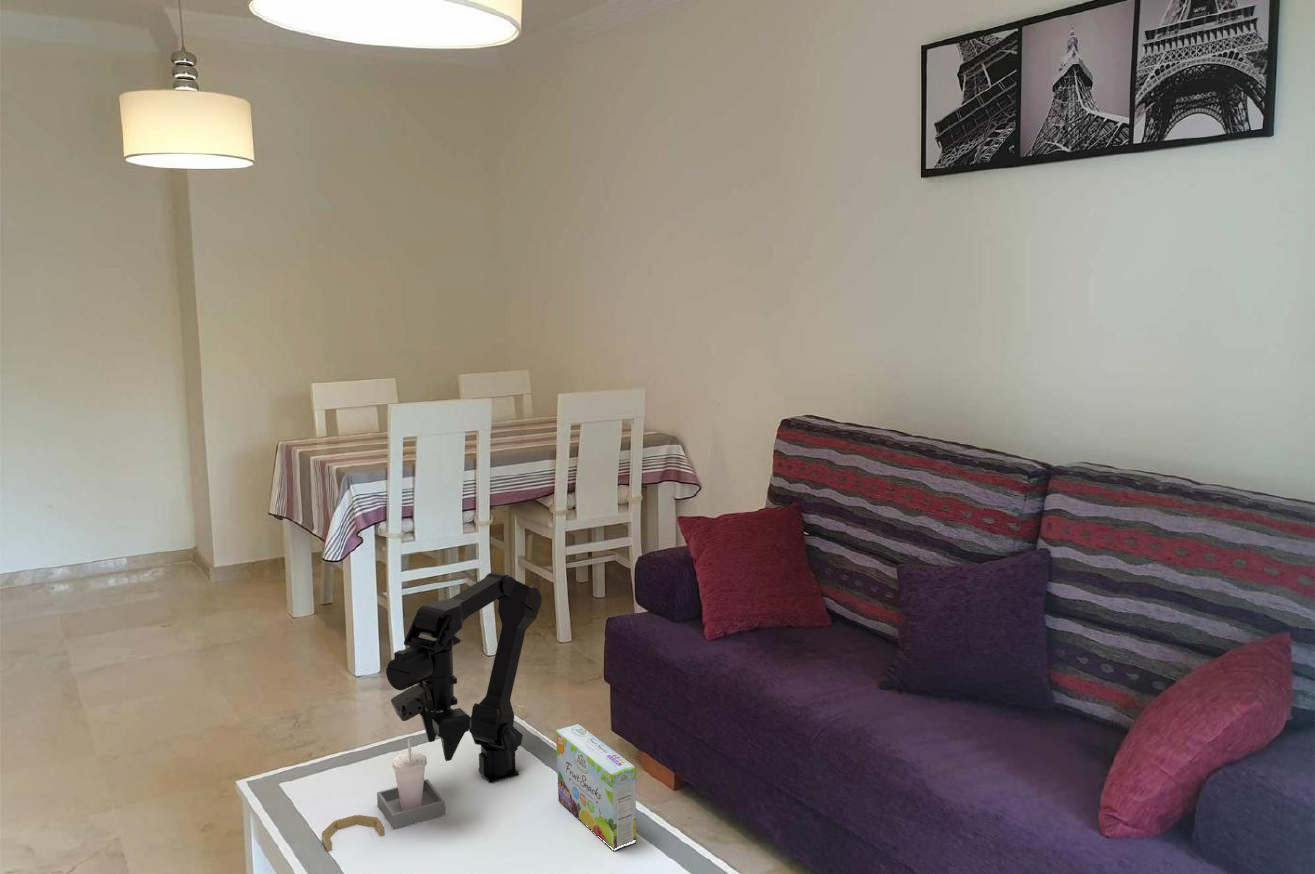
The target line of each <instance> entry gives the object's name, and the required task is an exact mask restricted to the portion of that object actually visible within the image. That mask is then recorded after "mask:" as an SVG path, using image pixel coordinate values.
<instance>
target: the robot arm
mask: <svg viewBox="0 0 1315 874" xmlns="http://www.w3.org/2000/svg"><path fill="white" fill-rule="evenodd" d="M542 600H543V599H542V594H541V593H540V591H539V589H538V588H537V587H535V586H531V585H530V586H529V585H526V584H524V583H522V582H520V581H518V580H516V579H515V578H513V577H512V576H511V575H510V574H505V573H501V572H500V573H499V572H495V571H493V572H490V573H487V575H486V576H485V577H484V578H482V579H481V580H479V581H477V582H476V583H474V584H472V585H471V586H469V587H467V588H466V589H464V590H462V591H461V592H458V593H457V594H456V595H454V596H453V597H450V598H448V599H440V600H435V601H431V602H428V603H426V604H423V605H422V606H421V607H419V608H418V609H417V610H416V611H417V612H416V614H415V616H414V618H413V620H412V623H411V626H410V627H409V630H408V632H407V634H406V637H405V639H404V641H403V645H404V646H406V647H407V648H404V649H401V650H398V651H395V652H394V653H393V659H391V660H390V661H389V662H388V664H387V667H386V669H385V675H386V679H387V681H388V683H389V685H391V687H393V688H394V689H395V690H397V691H402V692H400V693H399V694H397V695H395V696H393V697H392V698H391V699H390V702H391V704H392V707H393V709H394V711H395V715H397V716H398V717H399V718H400V720H401V721H402V722H406V721H409V720H411V719H412V718H414V717H416V716H417V715H420V718H421V720H422V725H423V726H424V730H425V734H426V738H427V741H428V743H432V742H435V740H436V738H437V737H439V738H440V741H441V747H442V751H443V752H442V753H443V758H444V760H445V761H446V762H448V761H452V760H453V757H454V756H455V753H456V751H457V748H458V747H459V745H460V742H461V741H462V739H463V737H464V736H465V733H466V732H468V731H469V733H471V737H472V740H473V742H474V744H475V745H478V746H480V752H479V754H478V769H477V770H478V772H479V774H481V775H482V777H484V778H485V780H486V781H488V783H495V782H498V781H502V780H507V779H509V778H514V777H517V776H519V775H520V772H519V771H518V770H517V769H516V752H517V751H518V750H519V747H521V745H522V741H523V737H524V735H523V734H522V733H521V732H520V731H519V730H518V729H517V728H516V727H514V722H515V712H514V710H513V706H512V703H511V697H512V693H513V688H514V684H515V680H516V675H517V671H518V667H519V662H520V657H521V652H522V649H523V645H524V640H525V635H526V633H527V632H526V631H527V629H528V628H529V627H530V626H531V625H532V624H533V623H534V621H535V620H536V619H537V618H538V617H537V616H538V613H539V611H540V608H541V605H542ZM495 601H497V602H498V603H497V604H498V605H497V606H498V607H497V613H498V616H499V620H500V623H501V629H500V632H499V637H498V642H497V645H496V646H497V647H496V649H495V655H494V659H493V662H492V667H491V672H490V676H489V681H488V684H487V685H488V686H487V691H486V694H485V697H484V698H483V699H482V700H481V701H480V702H479V703H477V702H475V703H474V704H473V706H472V709H471V716H470V715H469V714H468V713H467V712H466V711H465V710H464V709H462V708H460V707H458V708H454V709H452V706H456V705H458V698H457V697H456V696H455V694H454V693H455V692H454V690H455V689H454V685H456V684H458V678H457V677H456V676H455V675H454V655H453V654H454V653H453V652H454V651H453V647H454V646H456V645H458V644H460V643H461V639H460V638H459V637H457V636H456V634H457V633H458V632H460V631H461V630H462V629H463V626H464V622H465V621H466V620H467V619H468V618H469V617H472V615H474V614H475V613H478V612H479V611H481V610H482V609H484V608H485V607H486V606H488V605H490V604H492V603H493V602H495ZM420 635H421V636H424V637H428V638H433V639H432V640H431V639H428V638H424V637H420Z"/></svg>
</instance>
